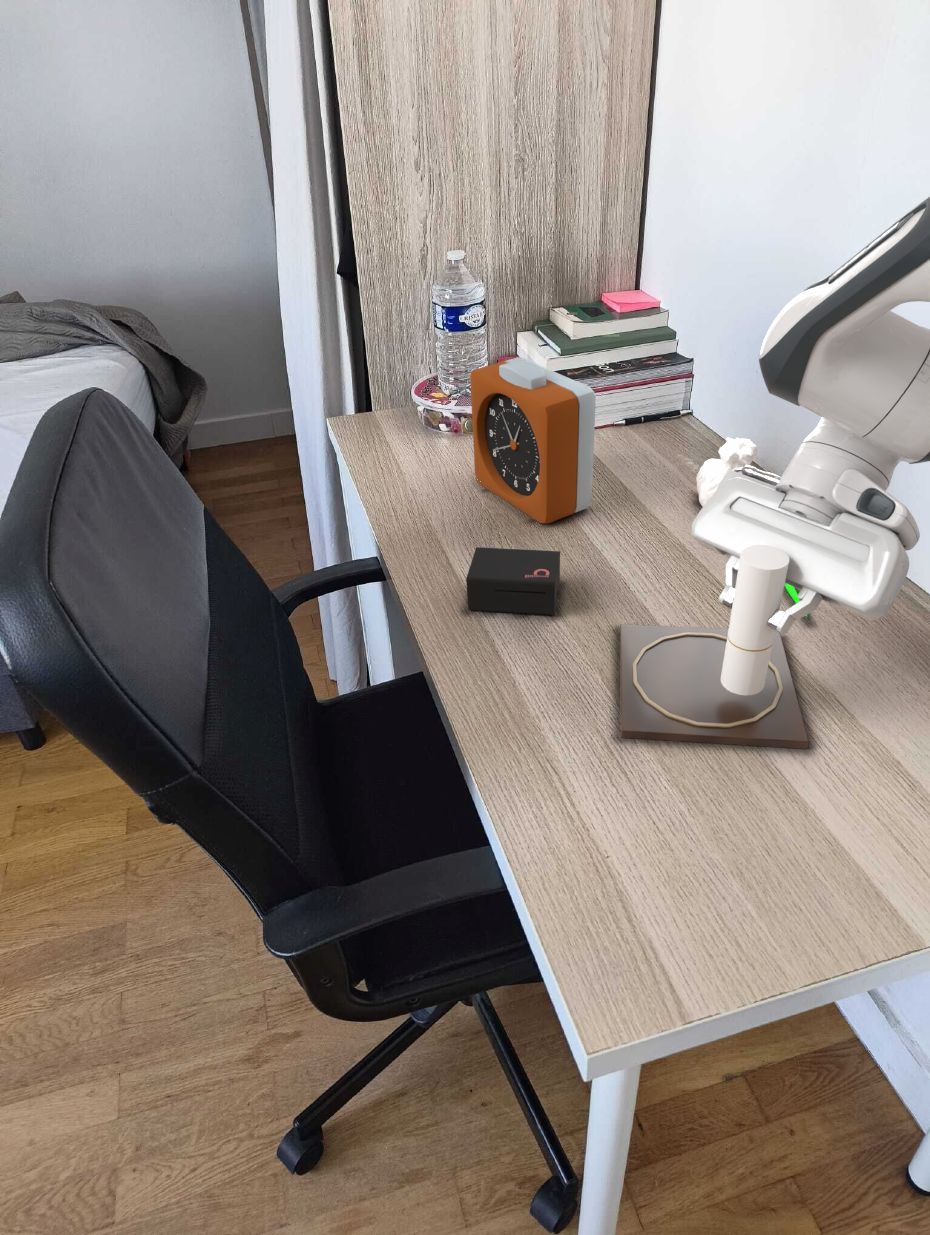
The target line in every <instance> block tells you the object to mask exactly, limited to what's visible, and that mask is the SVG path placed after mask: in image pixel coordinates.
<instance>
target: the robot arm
mask: <svg viewBox="0 0 930 1235" xmlns="http://www.w3.org/2000/svg"><path fill="white" fill-rule="evenodd" d="M912 302H914V303H915V302H923V303H926V302H927V303H930V196H928V197H927V198H925V199H924V200H923V201H921V202H920V203H919V204H917V205H916V206H915V207H913V208H912V209H911V210H909V211H908V212H907V213H905V214H903V215H902V216H901V217H900V218H899V219H898V220H897V221H895V222H894V223H893V224H891V225H890V226H889V227H887V229H885V230H884V231H883V232H882V233H880V235H877V237H876V238H874V239H873V240H872V241H871V242H869V243H867V245H866V246H864V247H863V248H861V250H860V251H858V252H857V253H856V254H854V255H853V256H852V257H851V258H849V259H848V260H847V261H846V262H845V263H843V264H842V265H841V266H839V267H838V268H837V269H835V270H834V271H833V272H832V273H830V274H829V275H827V276H826V277H824V278H822V279H821V280H819V281H817V282H815V283H812V284H810V285H809V286H807V287H806V288H804V289H803V290H802V291H801V292H800V293H799V294H798V295H797V296H795V297H794V298H793V299H792V300H790V301H789V302H788V303H787V304H786V305H785V306H784V307H783V309H782V310H781V311H780V312H779V313H778V314H777V316H776V317H775V319H774V320H773V322H772V324H771V325H770V327H769V328H768V330H767V333H766V334H765V337H764V339H763V342H762V345H761V348H760V351H759V354H758V363H759V369H760V372H761V375H762V379H763V381H764V384H765V386H766V389H767V391H768V393H769V394H771V395H773V396H774V397H777V398H779V399H781V400H784V401H786V402H788V403H791V404H793V405H795V406H798V407H803V408H804V409H806V410H808V411H810V412H812V413H814V414H816V415H817V416H820V419H819V420H818V423H817V425H816V427H815V428H814V429H813V430H812V431H811V433H810V434H808V435H807V436H806V437H805V438H804V440H803V441H802V442H801V444H799V447H798V448H797V450H796V452H795V453H794V455H793V457H792V458H791V460H790V462H789V464H788V465H787V467H786V469H785V470H784V472H782V473H783V474H782V475H779V474H775V473H772V472H768V471H765V470H761V469H759V468H757V467H755V466H753V465H750V466H748V465H744V467H739V468H735V469H733V470H730V471H728V472H727V473H726V474H725V476H724V477H723V479H722V481H721V482H720V484H719V486H718V488H717V490H716V491H715V493H714V494H713V495H712V496H711V497H710V499H709V500H708V501H707V502H706V504H705V505H704V506H703V507H701V509H700V510H699V512H698V513H697V514H696V516H695V517H694V519H693V521H692V522H691V526H690V528H691V536H692V538H693V539H694V540H695V541H696V542H697V543H698V544H699V545H700V546H702V547H704V548H705V549H708V550H710V551H712V552H715V553H717V554H719V555H721V556H723V557H726V558H728V560H727V562H726V564H725V583H724V584H725V586H724V588H723V590H722V591H721V594H720V595H719V597H718V603H719V604H720V605H722V606H724V607H725V608H728V609H730V610H732V605H733V599H734V592H735V586H736V580H737V574H738V568H739V561H740V555H741V552H742V551H743V550H744V549H745V548H747V547H750V546H754V545H768V546H773V547H776V548H778V549H781V550H782V551H784V552H785V553H786V554H787V555H788V556H789V565H788V570H787V575H786V580H785V583H786V584H788V585H791V586H793V587H794V588H795V589H797V590H799V592H798V593H797V594H798V595H797V597H798V598H799V599H800V602H798V603H797V604H796V603H795V604H793V605H791V606H790V607H789V608H787V609H786V610H784V611H783V610H781V609H780V610H778V609H776V611H775V612H774V613H773V617H772V618H770V619H769V621H768V627H770V628H771V629H773V630H775V631H777V632H778V633H780V634H781V635H783V636H786V635H787V634H788V632H790V629H791V628H792V626H793V625H794V623H795V621H799V620H800V619H802V618H804V617H806V615H807V616H808V615H809V614H811V613H813V612H815V611H816V610H817V609H818V607H819V605H820V604H821V603H822V601H824V602H827V603H829V604H831V605H834V606H835V607H838V608H840V609H842V610H845V611H847V612H849V613H850V614H851V613H852V614H853V615H856V616H858V617H860V618H862V619H864V620H867V621H869V622H874V621H876V620H879V619H881V618H883V617H885V616H887V614H888V613H889V611H890V610H891V608H892V607H893V605H894V603H895V601H896V599H897V598H898V595H899V594H900V591H901V589H902V587H903V585H904V583H905V580H906V577H907V575H908V573H909V569H910V557H909V556H908V553H907V551H910V550H913V548H915V546H916V545H917V544H918V542H919V540H920V538H921V534H920V528H919V526H918V523H917V522H916V519H915V517H914V515H913V514H912V513H911V511H910V510H909V509H908V507H907V506H906V505H905V504H904V503H902V502H901V501H900V500H898V499H897V498H895V497H894V496H893V495H892V494H890V493H889V492H887V490H888V488H889V486H890V485H891V482H892V479H893V475H894V472H895V470H896V467H897V466H898V465H899V464H900V462H906V463H908V464H909V465H914V464H915V465H916V464H923V463H929V462H930V328H927V327H924V326H920V325H918V324H916V323H914V322H912V321H911V320H908V319H907V318H905V317H903V316H901V315H900V314H898V313H895V312H893V311H892V310H893V309H895V308H896V307H898V306H900V305H903V304H906V303H912ZM740 471H742V474H741V473H738V472H740Z"/></svg>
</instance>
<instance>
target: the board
mask: <svg viewBox="0 0 930 1235" xmlns="http://www.w3.org/2000/svg"><path fill="white" fill-rule="evenodd" d="M728 630H729V628H719V627H718V628H715V627H693V626H672V625H671V626H670V625H669V626H668V625H667V626H666V625H644V624H623V623H622V624H621V623H620V625H619V682H620V683H619V684H620V685H619V689H620V690H619V692H620V693H619V694H620V695H619V696H620V698H619V699H620V738H621V739H622V738H623V739H636V740H637V739H638V740H653V741H669V742H671V741H672V742H686V743H687V742H688V743H703V744H704V743H705V744H720V745H721V744H722V745H735V746H736V745H737V746H750V747H751V746H753V747H769V748H771V747H772V748H785V749H786V748H787V749H802V750H803V749H805V750H807V749H808V746H809V742H810V741H809V737H808V734H807V730H806V727H805V722H804V719H803V715H802V711H801V708H800V704H799V699H798V696H797V692H796V688H795V685H794V681H793V680H794V679H793V677H792V672H791V669H790V665H789V662H788V658H787V655H786V650H785V646H784V643H783V638H782V634H780V633H778V632H777V631H775V634H774V639H773V644H772V649H771V654H770V659H769V664H768V669H767V674H766V679H765V684H764V687H763V689H762V691H760V692H759V693H757V694H754V695H739V694H735V693H733V692H730V691H729V690H727V689H726V688H725V687H724V686H723V685H722V683H721V673H722V667H723V661H724V654H725V648H726V642H727V636H728Z"/></svg>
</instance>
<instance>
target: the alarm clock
mask: <svg viewBox="0 0 930 1235" xmlns="http://www.w3.org/2000/svg"><path fill="white" fill-rule="evenodd" d="M469 376H470V377H469V379H470V380H469V381H470V382H469V383H470V401H471V420H472V421H471V422H472V440H473V459H474V460H473V461H474V462H473V463H474V475H475V479H476V481H477V483H478V484H479V485H480V486H482V487H483V488H485V489H486V490H488V491H490V492H491V493H493V494H494V495H496V496H498V497H499V498H501V499H502V500H504V501H505V502H507V503H508V504H510V505H512V506H513V507H514V508H516V509H517V510H520V512H522V513H524V514H526V515H527V516H529V517H530V518H532V519H533V520H534V521H537V522H538V523H539V524H551V523H554V522H556V521H558V520H561V519H563V518H566V517H569V516H571V515H573V514H576V513H578V512H582V511H583V510H586V509H588V508H589V507H590V505H591V503H592V500H593V478H594V476H593V475H594V455H595V454H594V452H595V429H596V427H595V426H596V404H597V403H596V402H597V399H596V393H595V391H594V390H593V389H592V388H591V386H589V385H586V384H585V383H581V382H579V381H577V380H575V379H571V378H570V377H567V376H565V375H563V374H560V373H558V372H556V371H554V370H551V369H549V368H546V367H544V366H542V365H540V364H537V363H535V362H533V361H530V360H528V359H525V358H523V357H520V356H517V357H514V358H511V359H507V360H503V361H500V362H497V363H493V364H489V365H486V366H483V367H482V366H481V367H478V368H475V369H473V370H472V371H471V373H470V375H469ZM477 479H478V480H477ZM480 481H481V482H480Z"/></svg>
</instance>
